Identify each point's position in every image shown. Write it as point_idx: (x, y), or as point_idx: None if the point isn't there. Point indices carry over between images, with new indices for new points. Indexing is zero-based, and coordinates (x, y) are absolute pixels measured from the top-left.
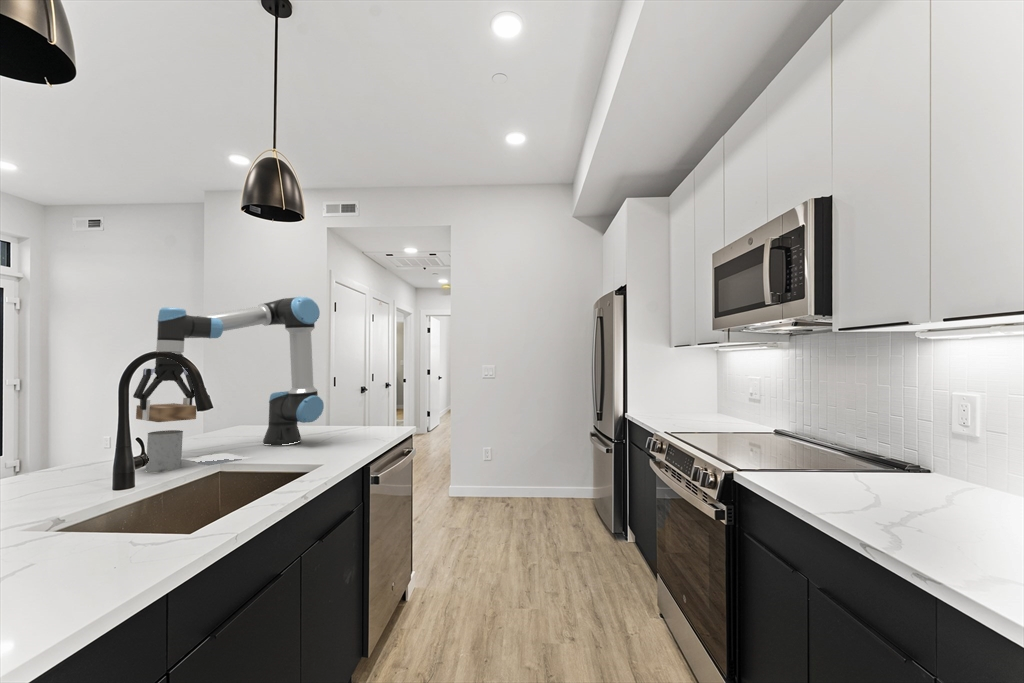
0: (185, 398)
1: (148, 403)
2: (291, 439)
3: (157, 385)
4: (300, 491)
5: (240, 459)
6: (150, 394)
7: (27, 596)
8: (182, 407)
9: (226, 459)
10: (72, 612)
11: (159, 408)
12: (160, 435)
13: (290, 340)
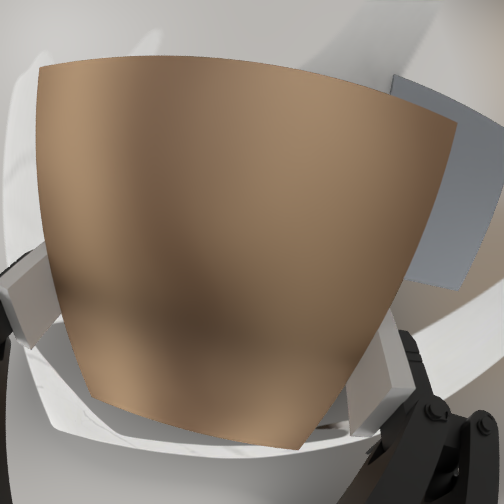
0: (368, 413)
1: (38, 328)
2: None
3: (3, 478)
4: (242, 455)
5: (432, 280)
6: (4, 382)
7: (48, 407)
8: (214, 431)
9: (428, 243)
10: (63, 426)
11: (93, 395)
12: None
13: None
